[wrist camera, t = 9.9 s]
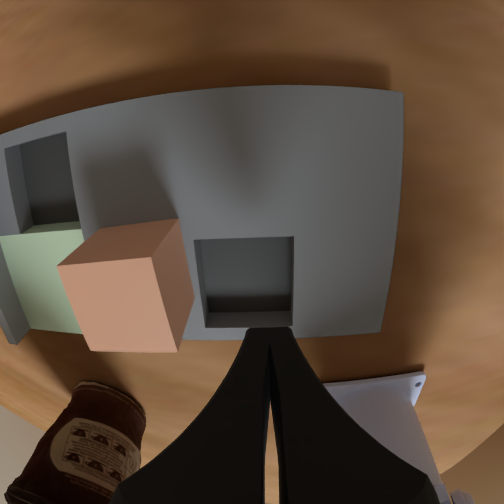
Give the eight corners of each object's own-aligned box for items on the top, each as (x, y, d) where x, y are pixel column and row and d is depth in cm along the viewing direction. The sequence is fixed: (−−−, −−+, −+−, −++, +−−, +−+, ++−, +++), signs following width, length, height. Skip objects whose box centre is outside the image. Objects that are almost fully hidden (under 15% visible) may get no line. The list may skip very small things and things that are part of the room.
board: (372, 316, 18) (390, 353, 14) (33, 315, 18) (9, 343, 15) (390, 93, 13) (422, 90, 10) (-11, 141, 14) (-48, 151, 11)
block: (195, 297, 15) (177, 352, 12) (121, 301, 16) (90, 350, 12) (178, 218, 14) (151, 257, 10) (99, 228, 14) (56, 266, 10)
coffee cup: (87, 349, 19) (4, 509, 7) (181, 414, 22) (149, 574, 10) (52, 394, 22) (-8, 511, 10) (128, 445, 24) (94, 564, 12)
